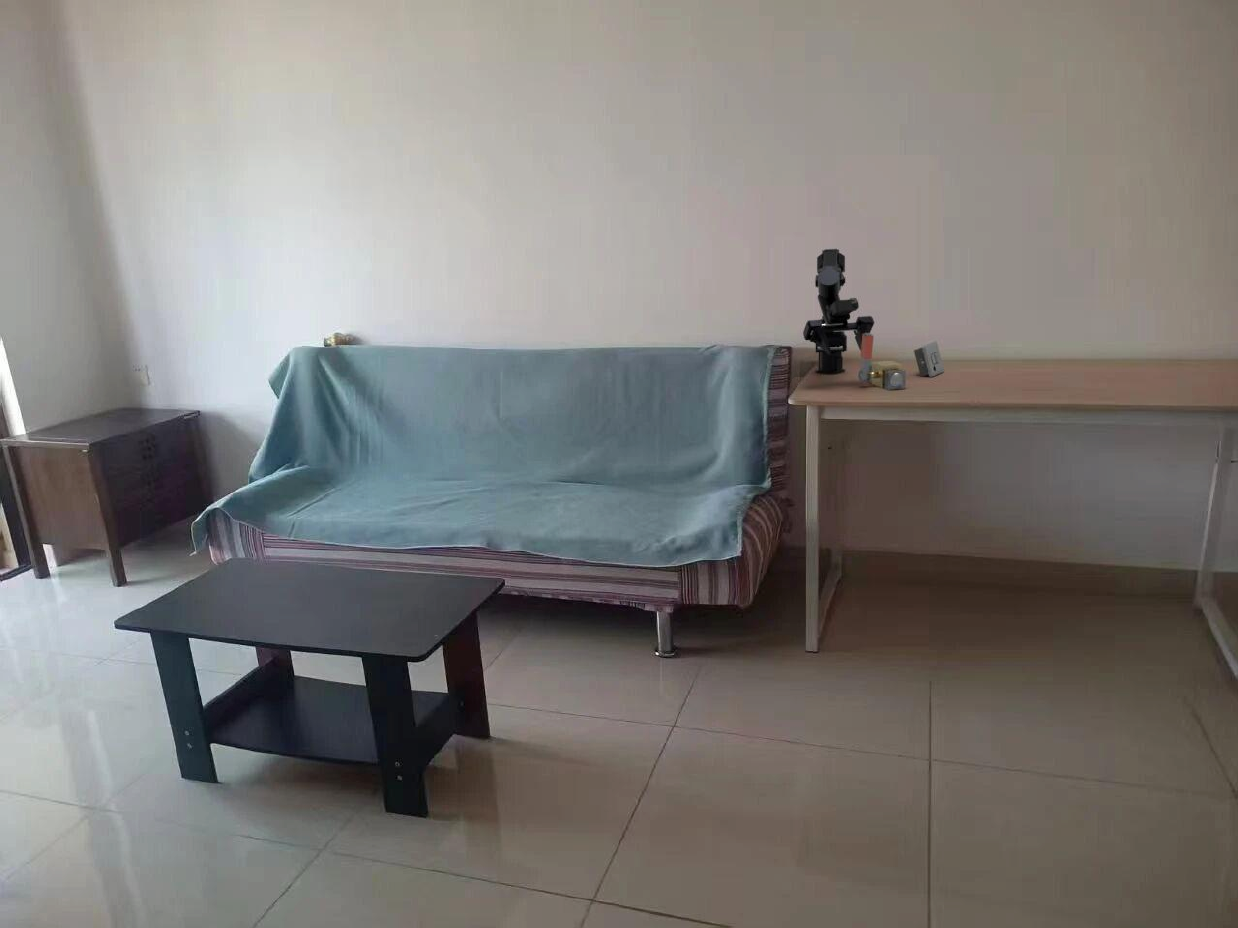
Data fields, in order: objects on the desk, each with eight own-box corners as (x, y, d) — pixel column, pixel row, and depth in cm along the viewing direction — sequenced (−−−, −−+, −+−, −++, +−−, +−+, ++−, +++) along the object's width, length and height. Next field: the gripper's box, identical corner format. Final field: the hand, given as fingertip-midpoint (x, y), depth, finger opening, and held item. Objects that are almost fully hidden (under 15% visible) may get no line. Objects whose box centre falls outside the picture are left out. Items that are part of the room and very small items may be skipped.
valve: (857, 381, 270) (858, 360, 268) (884, 379, 271) (885, 358, 269) (879, 391, 255) (880, 369, 254) (908, 388, 256) (908, 366, 255)
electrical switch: (932, 378, 269) (930, 345, 267) (914, 378, 273) (912, 346, 271) (944, 372, 276) (942, 340, 274) (927, 373, 280) (925, 341, 278)
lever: (857, 379, 263) (862, 332, 257) (865, 378, 264) (869, 332, 257) (862, 383, 261) (866, 336, 255) (869, 382, 261) (874, 335, 255)
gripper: (806, 290, 259) (820, 336, 251) (872, 286, 261) (888, 331, 253) (797, 317, 268) (810, 361, 260) (860, 312, 271) (876, 356, 263)
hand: (846, 352), depth 259 cm, fingers open, 9 cm apart
